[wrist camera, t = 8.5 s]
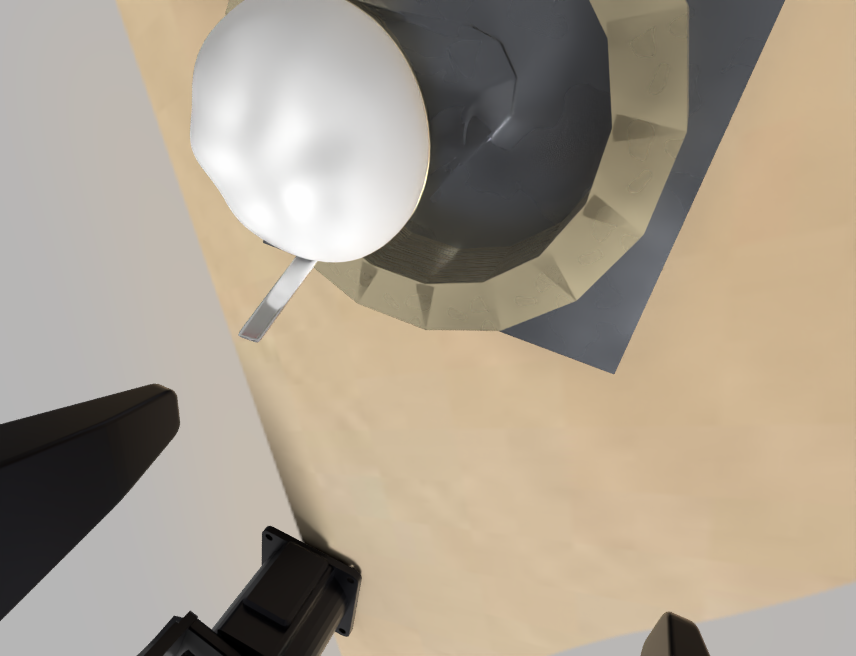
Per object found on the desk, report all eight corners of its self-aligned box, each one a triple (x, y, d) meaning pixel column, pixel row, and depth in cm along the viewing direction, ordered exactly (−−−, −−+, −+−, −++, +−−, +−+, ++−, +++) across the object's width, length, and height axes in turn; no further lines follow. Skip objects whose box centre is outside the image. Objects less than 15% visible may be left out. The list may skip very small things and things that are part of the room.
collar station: (617, 359, 19) (601, 428, 16) (278, 234, 23) (209, 271, 19) (857, -172, 12) (918, -241, 8) (289, -239, 15) (178, -307, 12)
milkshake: (387, 178, 18) (147, 305, 10) (396, -11, 16) (77, -35, 8) (518, 207, 17) (360, 378, 9) (555, 7, 14) (373, 0, 6)
